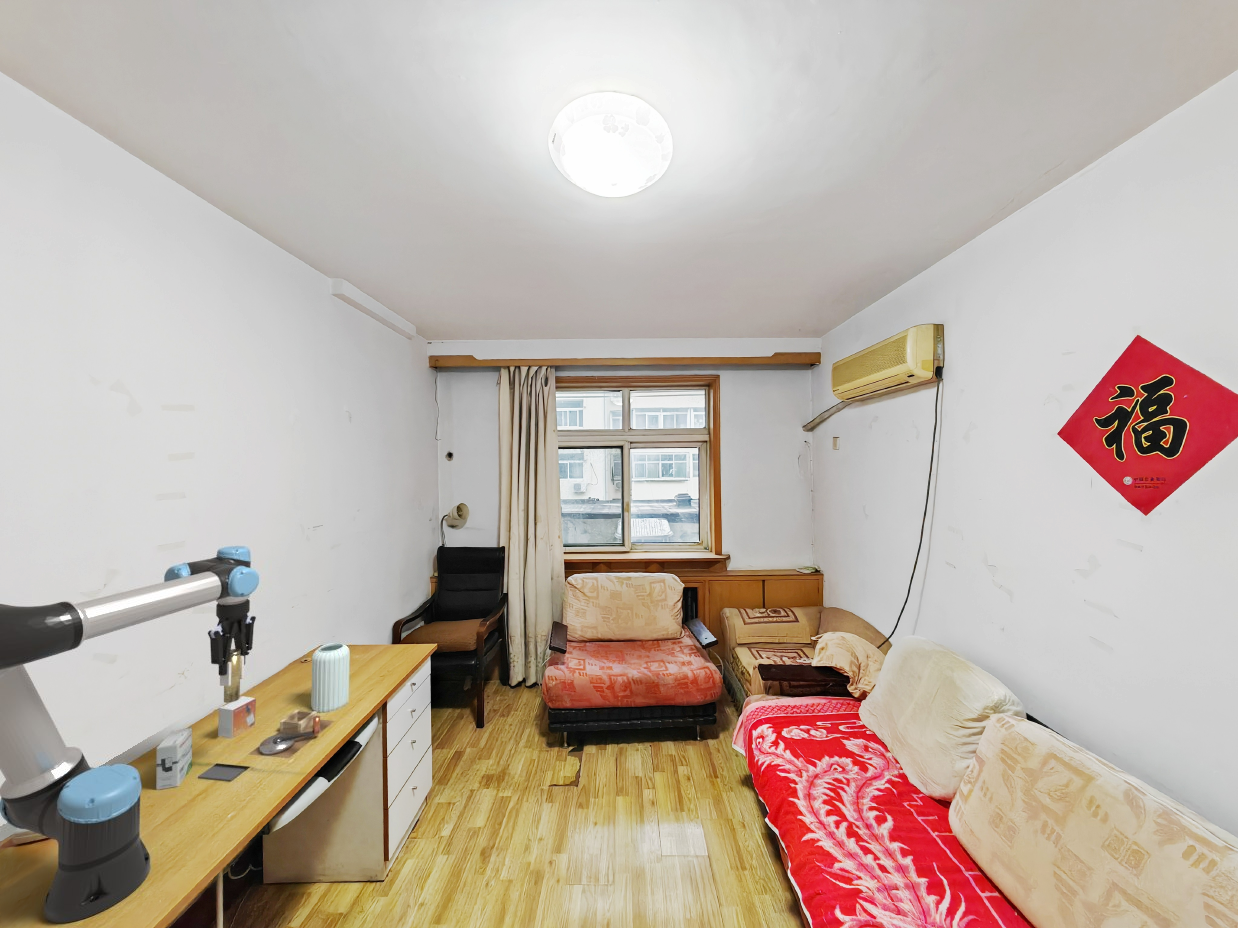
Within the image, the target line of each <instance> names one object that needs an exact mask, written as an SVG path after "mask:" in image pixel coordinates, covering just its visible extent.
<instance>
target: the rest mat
mask: <svg viewBox="0 0 1238 928" xmlns="http://www.w3.org/2000/svg"><path fill="white" fill-rule="evenodd" d="M250 768H251V766H248V765H240V764H239V765H237V764H230V763H229V764H227V763H226V764H225V763H218V762H217V763H215V764H214V765H212V766H211V767H209V768H208V769H206V770H205V771H203V772H202V773H200V774H199V775H198V776H197V779H201V780H202V779H204V780H212V781H222V782H232V781H234V780H235V779H236V778H238V777H240V775H242V774H243V773H244V772H246V771H247V770H248V769H250Z"/></svg>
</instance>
